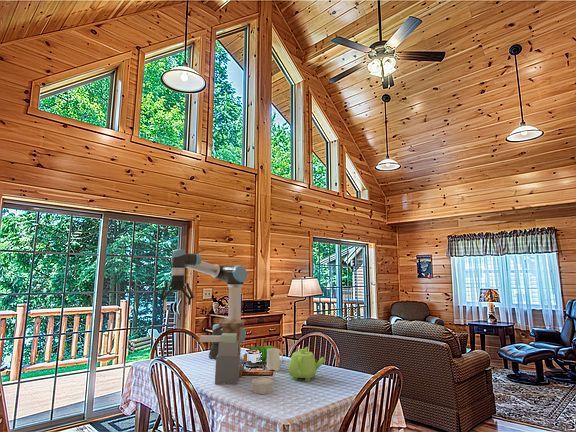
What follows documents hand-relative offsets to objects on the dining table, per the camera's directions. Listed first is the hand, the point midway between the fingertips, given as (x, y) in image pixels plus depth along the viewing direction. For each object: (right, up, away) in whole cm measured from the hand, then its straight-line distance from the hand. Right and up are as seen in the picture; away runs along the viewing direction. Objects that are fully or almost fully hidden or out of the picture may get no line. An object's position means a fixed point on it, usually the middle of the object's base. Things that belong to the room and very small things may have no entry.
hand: (176, 310), depth 227 cm
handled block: (+28, -13, -17) cm, 35 cm away
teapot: (+79, -37, -9) cm, 88 cm away
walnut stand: (+33, -37, -2) cm, 50 cm away
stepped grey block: (+34, -34, -20) cm, 52 cm away
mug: (+60, -39, +9) cm, 72 cm away
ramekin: (+55, -32, -37) cm, 73 cm away
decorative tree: (+51, -42, +28) cm, 72 cm away
